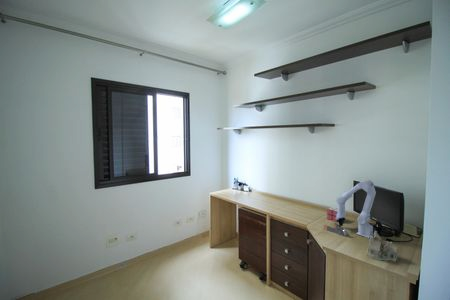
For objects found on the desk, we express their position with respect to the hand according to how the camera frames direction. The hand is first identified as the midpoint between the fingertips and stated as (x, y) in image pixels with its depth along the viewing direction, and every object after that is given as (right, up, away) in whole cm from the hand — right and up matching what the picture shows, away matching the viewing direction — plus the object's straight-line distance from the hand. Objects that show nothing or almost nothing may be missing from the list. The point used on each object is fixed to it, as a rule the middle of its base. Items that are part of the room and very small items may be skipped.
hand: (340, 225), depth 186 cm
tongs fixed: (-10, -2, -9) cm, 14 cm away
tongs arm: (-5, -2, -6) cm, 8 cm away
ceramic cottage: (+2, -4, -45) cm, 45 cm away
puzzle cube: (+4, -1, +19) cm, 19 cm away
